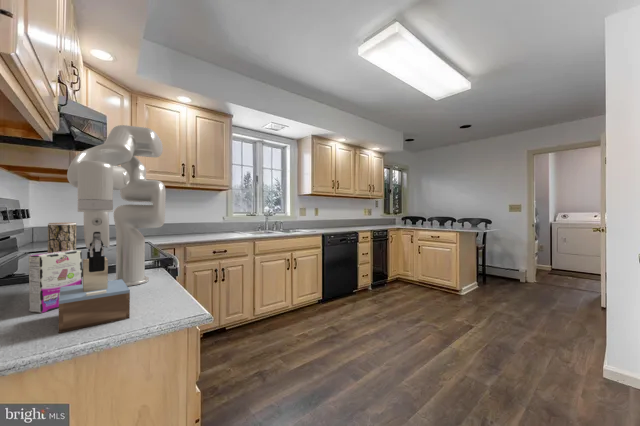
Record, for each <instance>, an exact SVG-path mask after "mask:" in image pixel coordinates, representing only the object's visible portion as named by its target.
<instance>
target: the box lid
mask: <svg viewBox="0 0 640 426" xmlns="http://www.w3.org/2000/svg"><path fill="white" fill-rule="evenodd" d="M125 293H130V294H131V289H130V288H129V286H127V285H126V284H125V282H124V281H123V280H122V279H120V280H115V279H113V280H108V289H102V290H95V291H88V292H84V291H83V283H82V284H81V285H73V286H66V287H61V288H60V296H59V304H63V303H69V302H75V301H81V300H87V299H94V298H100V297H106V296H113V295H119V294H125Z"/></svg>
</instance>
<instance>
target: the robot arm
mask: <svg viewBox="0 0 640 426" xmlns="http://www.w3.org/2000/svg"><path fill="white" fill-rule="evenodd" d="M163 146H164V145H163V141H162V139H161V138H160V137H159V135H158V133H157V132H156V131H155V130H154V129H151V128H148V127H144V126H143V127H142V126H136V125H135V126H134V125H127V124H126V125H123V124H121V125H115V126H114V127H113V128H112V129H111V130H110V132H109V133H108V135H107V137H106V140H105V141H104V143H102V144H98V145H95V146H93V147H90V148H86V149H84V150H82V151H80V152H79V153H77V154H76V155H75V157H74V158H73V159H72V161H70V162H71V163H70V164H69V166H68V169H67V173H66V176H67V181H68V182H69V184H70V185H71V186H72V187H74V188H76V189H77V212H78V213H83V236H84V242H85V243H84V244H85V247H86V249H87V252H86V255H87V256H86V259H89V272H98V271H104V270H105V257H106V256H105V254H104V253H105V251H104V247H105V248H107V249H109V248H110V217H109V213H111V212H113V221H114V226H115V234H116V235H115V238H116V239H115V240H116V241H115V242H116V245H115V247H116V249H115V251H116V252H115V254H116V255H115V256H116V257H115V278H114V280H120V279H122V280H123V281H124V282H125V284H126V285H127V287H129V286H130V287H131V286H137V285H143V284H145V283H147V282H149V280H150V278H149V276H145V273H146V272H145V266H146V265H145V264H146V263H145V259H146V256H145V253H146V250H145V249H146V239H145V236H144V235H143V234H142V233H141V231H140V230H139V229H156V228H157V229H159V228H161V227H162V226H164V225H165V221H166V200H167V199H166V197H167V196H166V195H167V192H166V186H165V184H164V182H162V181H161V180H157V179H147V168H146V166H145V165H144V163H143V162H142V161H141V160H140V159H139V158H138V157H142V158H143V157H144V158H159V157H161V156H162V154H163V151H164V147H163ZM119 190H120V193H119V194H120V197H121V199H122V200H123V201H126V202H132V203H151V204H132V203H131V204H122V205H119V206H117V207H116V208H115V209H114V201H113V200H114V191H119ZM113 209H114V210H113Z"/></svg>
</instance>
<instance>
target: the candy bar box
mask: <svg viewBox="0 0 640 426" xmlns="http://www.w3.org/2000/svg"><path fill="white" fill-rule="evenodd" d="M82 255H83V253H82V250H77V249H76V250H68V251H60V252H53V253H48V252H47V253H39V254H32V255H28V280H29V283H28V289H29V290H28V291H29V294H28V295H29V299H28V300H29V312H31V313H37V314H38V313H39V314H43V313H46V312H51V311H53V310H56V309H59V296H60V288H61V287H66V286H73V285H81V284H83V264H82V263H83V259H82Z"/></svg>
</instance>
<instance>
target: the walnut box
mask: <svg viewBox="0 0 640 426" xmlns="http://www.w3.org/2000/svg"><path fill="white" fill-rule="evenodd" d="M130 298H131V292H130V293H125V294H119V295H113V296H106V297H100V298H94V299H87V300H81V301H75V302H69V303H63V304H59V308H58V334H62V333H67V332H71V331H75V330H80V329H85V328H90V327H93V326H94V327H95V326H100V325H104V324H110V323H114V322H117V321H118V322H119V321H123V320H128V319H130V317H131V316H130V315H131V314H130V311H131V310H130V309H131V307H130V306H131V305H130V304H131V303H130V301H131V299H130Z"/></svg>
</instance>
